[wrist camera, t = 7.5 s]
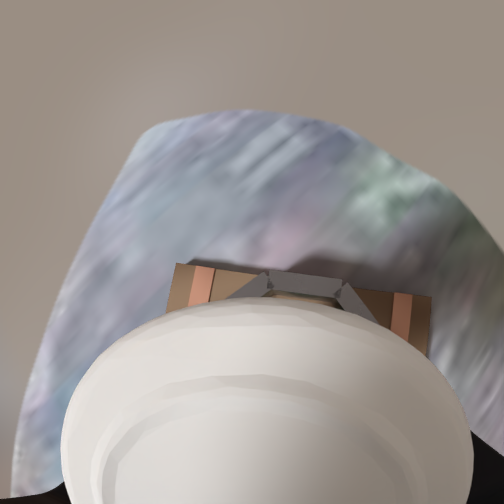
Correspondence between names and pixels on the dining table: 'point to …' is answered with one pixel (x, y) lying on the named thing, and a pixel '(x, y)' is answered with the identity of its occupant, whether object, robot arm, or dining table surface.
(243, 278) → the wooden base board
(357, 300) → the ring
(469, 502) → the robot arm
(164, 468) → the sprinkles bottle
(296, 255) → the dining table surface
